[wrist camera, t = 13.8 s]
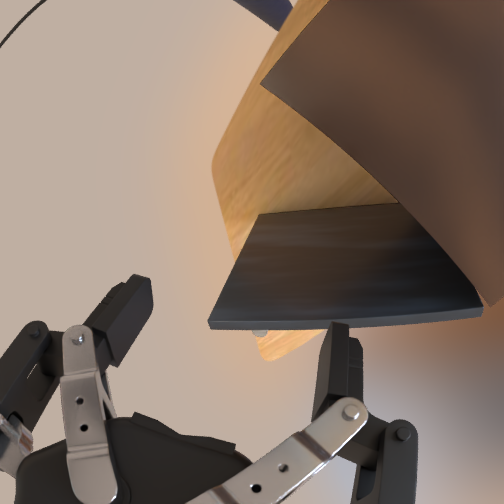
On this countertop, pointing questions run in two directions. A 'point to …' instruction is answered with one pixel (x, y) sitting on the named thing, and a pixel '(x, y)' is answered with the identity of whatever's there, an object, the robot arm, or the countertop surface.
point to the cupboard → (414, 112)
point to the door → (342, 273)
